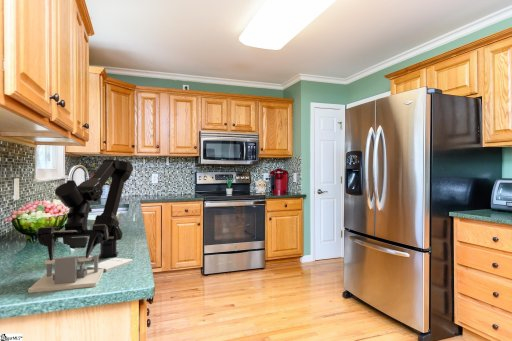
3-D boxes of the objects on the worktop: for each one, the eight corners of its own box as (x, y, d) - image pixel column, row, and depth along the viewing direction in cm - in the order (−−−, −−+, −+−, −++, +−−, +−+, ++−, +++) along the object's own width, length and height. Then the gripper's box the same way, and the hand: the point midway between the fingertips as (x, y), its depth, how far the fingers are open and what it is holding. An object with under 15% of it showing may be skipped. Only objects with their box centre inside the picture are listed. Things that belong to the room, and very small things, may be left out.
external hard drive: (86, 271, 103) (114, 261, 115) (106, 273, 101) (133, 263, 112) (86, 266, 103) (114, 257, 115) (106, 268, 101) (133, 258, 112)
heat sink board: (46, 276, 96) (46, 250, 96) (103, 271, 101) (103, 246, 101) (28, 293, 83) (28, 262, 83) (95, 286, 88) (95, 257, 88)
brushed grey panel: (53, 258, 95) (44, 260, 88) (93, 255, 98) (88, 257, 91) (53, 262, 95) (44, 264, 87) (93, 259, 98) (88, 261, 91)
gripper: (111, 229, 110) (107, 270, 99) (50, 232, 104) (38, 275, 94) (108, 208, 103) (103, 250, 92) (42, 210, 97) (28, 255, 86)
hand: (68, 258), depth 91 cm, fingers open, 9 cm apart
